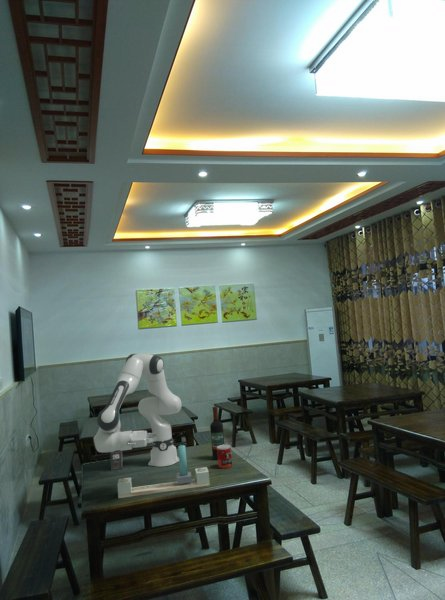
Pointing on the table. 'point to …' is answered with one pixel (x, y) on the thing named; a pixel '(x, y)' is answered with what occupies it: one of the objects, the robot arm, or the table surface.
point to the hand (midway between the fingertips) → (156, 436)
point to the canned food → (224, 456)
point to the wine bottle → (216, 433)
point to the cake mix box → (116, 459)
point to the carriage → (183, 467)
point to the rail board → (162, 485)
